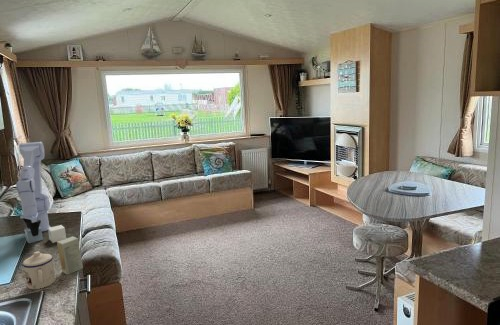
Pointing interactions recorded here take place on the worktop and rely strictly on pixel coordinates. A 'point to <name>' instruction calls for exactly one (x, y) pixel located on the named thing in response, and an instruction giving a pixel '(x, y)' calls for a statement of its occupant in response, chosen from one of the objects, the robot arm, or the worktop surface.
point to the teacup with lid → (39, 270)
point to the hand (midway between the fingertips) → (33, 233)
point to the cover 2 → (57, 233)
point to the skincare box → (70, 255)
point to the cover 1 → (31, 238)
